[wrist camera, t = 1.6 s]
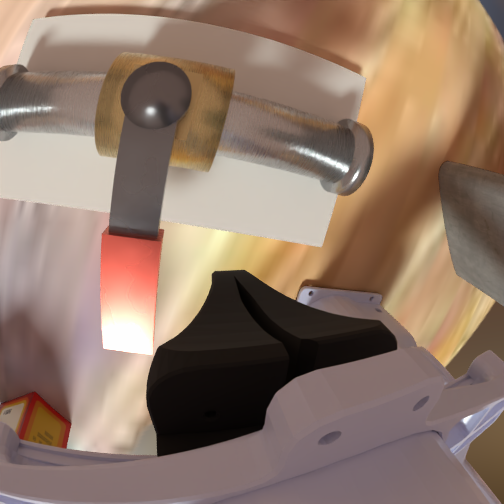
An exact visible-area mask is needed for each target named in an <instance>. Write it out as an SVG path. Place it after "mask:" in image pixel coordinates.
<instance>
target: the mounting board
mask: <svg viewBox="0 0 504 504" xmlns="http://www.w3.org/2000/svg"><path fill="white" fill-rule="evenodd" d="M123 52H129V53H141V54H150V55H159V56H166V57H173V58H180V59H186V60H192V61H197V62H202V63H208V64H212V65H217V66H222V67H226V68H230V69H234V70H235V80H234V86H233V91H236V92H240V93H244V94H248V95H252V96H255V97H259V98H263V99H266V100H270V101H273V102H276V103H280V104H283V105H286V106H290V107H293V108H296V109H299V110H302V111H305V112H308V113H311V114H314V115H316V116H319V117H322V118H325V119H327V120H330V121H333V122H335V123H337V122H339V121H340V120H342V119H346V118H347V119H352V120H354V121H356V122H357V118H358V113H359V109H360V104H361V100H362V95H363V91H364V86H365V81H366V78H365V77H363V76H361V75H359V74H357V73H355V72H353V71H351V70H349V69H346V68H344V67H342V66H340V65H338V64H335V63H333V62H331V61H328V60H326V59H324V58H321V57H319V56H316V55H314V54H311V53H308V52H306V51H303V50H300V49H298V48H295V47H292V46H289V45H286V44H283V43H280V42H277V41H274V40H271V39H267V38H264V37H261V36H257V35H254V34H250V33H246V32H242V31H238V30H234V29H230V28H226V27H221V26H216V25H211V24H206V23H201V22H195V21H189V20H182V19H175V18H167V17H158V16H147V15H132V14H78V15H64V16H54V17H45V18H38V19H33V21H32V23H31V26H30V28H29V31H28V33H27V36H26V39H25V41H24V44H23V47H22V50H21V53H20V56H19V59H18V62H17V64H21V65H23V66H25V67H26V68H27V70H28V72H37V71H100V72H108V70H109V68H110V66H111V65H112V63H113V61H114V60H115V59H116V57H117V56H118V55H119V54H121V53H123ZM116 160H117V158H112V157H104V156H100V155H99V154H98V152H97V149H96V144H95V137H90V136H79V135H66V134H50V133H27V132H18V133H17V134H16V135H15V136H14V137H13V138H12V139H10V140H8V141H0V198H4V199H12V200H20V201H28V202H35V203H43V204H50V205H58V206H65V207H72V208H79V209H86V210H93V211H100V212H107V213H110V208H111V198H112V190H113V182H114V174H115V167H116ZM336 199H337V194H334V193H330V192H327V191H325V190H324V189H323V187H322V186H321V184H320V180H317V179H313V178H310V177H306V176H302V175H299V174H295V173H291V172H287V171H283V170H279V169H275V168H271V167H267V166H263V165H259V164H254V163H250V162H246V161H241V160H236V159H232V158H227V157H222V156H217V155H215V158H214V161H213V164H212V166H211V168H210V170H209V172H202V171H197V170H191V169H186V168H180V167H174V166H169V171H168V176H167V182H166V188H165V194H164V200H163V207H162V214H161V221H167V222H173V223H180V224H186V225H192V226H199V227H205V228H211V229H217V230H223V231H229V232H235V233H241V234H247V235H253V236H259V237H265V238H271V239H277V240H283V241H289V242H294V243H300V244H306V245H311V246H317V247H322V245H323V242H324V239H325V235H326V232H327V229H328V226H329V222H330V219H331V216H332V212H333V209H334V205H335V202H336Z"/></svg>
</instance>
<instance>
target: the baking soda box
mask: <svg viewBox="0 0 504 504" xmlns="http://www.w3.org/2000/svg"><path fill="white" fill-rule="evenodd" d="M0 421H2V422H4V423H6V424H7V425H9V426H10V427H11V428H12V429H13V430H14V431H15V432H16V434H17V435H18V437H19V438H20V439H21V440H25V441H29V442H34V443H38V444H43V445H48V446H54V447H59V448H65V449H66V448H67V442H68V437H69V433H70V428H71V423H70V422H68V421H67V420H66V419H65V418H64V417H62V416H61V415H60V414H59V413H58V412H57V411H55V410H54V409H53V408H52V407H51V406H50V405H49V404H48V403H46V402H45V401H44V400H43V399H42V398H41V397H40V396H39V395H38V394H37V393H36V392H32V393H29V394H27V395H24V396H21V397H19V398H16V399H13V400H10V401H8V402H5V403H2V404H1V405H0Z"/></svg>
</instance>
